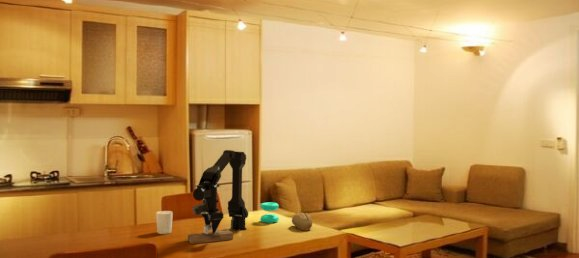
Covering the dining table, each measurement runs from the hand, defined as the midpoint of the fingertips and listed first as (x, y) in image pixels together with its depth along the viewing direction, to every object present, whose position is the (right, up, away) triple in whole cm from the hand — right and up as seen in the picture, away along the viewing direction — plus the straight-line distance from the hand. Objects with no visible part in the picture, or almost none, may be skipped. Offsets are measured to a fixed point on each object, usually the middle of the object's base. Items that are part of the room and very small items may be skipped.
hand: (210, 230), depth 236 cm
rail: (0, -4, 0) cm, 4 cm away
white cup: (-25, -4, +14) cm, 29 cm away
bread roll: (+43, -4, +27) cm, 51 cm away
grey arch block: (0, -3, 0) cm, 3 cm away
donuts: (+26, -4, +42) cm, 50 cm away
